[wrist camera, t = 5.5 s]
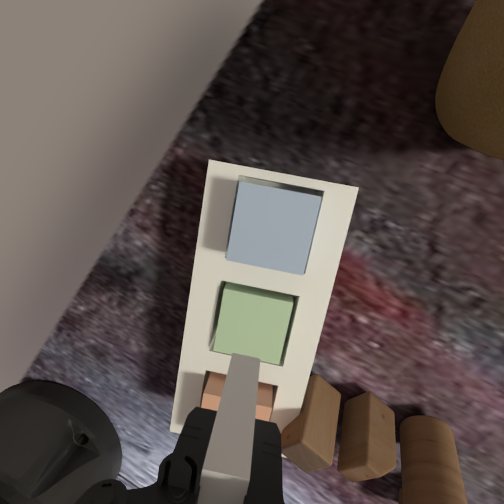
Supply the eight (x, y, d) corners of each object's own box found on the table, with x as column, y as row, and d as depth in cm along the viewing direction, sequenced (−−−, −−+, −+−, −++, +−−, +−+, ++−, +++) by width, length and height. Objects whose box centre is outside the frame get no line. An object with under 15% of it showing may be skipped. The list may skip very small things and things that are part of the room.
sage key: (221, 328, 25) (213, 350, 22) (231, 274, 24) (223, 288, 21) (278, 340, 25) (279, 364, 22) (290, 286, 24) (293, 302, 20)
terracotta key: (204, 414, 25) (193, 449, 22) (213, 364, 24) (203, 392, 21) (261, 426, 25) (258, 464, 22) (272, 376, 24) (272, 408, 21)
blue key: (233, 249, 22) (226, 260, 19) (245, 182, 21) (239, 181, 18) (299, 262, 22) (303, 275, 18) (314, 195, 21) (321, 196, 17)
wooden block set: (287, 376, 30) (250, 489, 21) (349, 339, 25) (333, 470, 16) (418, 486, 30) (432, 638, 22) (506, 472, 25) (568, 664, 17)
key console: (184, 397, 28) (169, 431, 24) (220, 164, 23) (209, 159, 19) (286, 420, 28) (288, 458, 24) (344, 187, 23) (358, 187, 19)
